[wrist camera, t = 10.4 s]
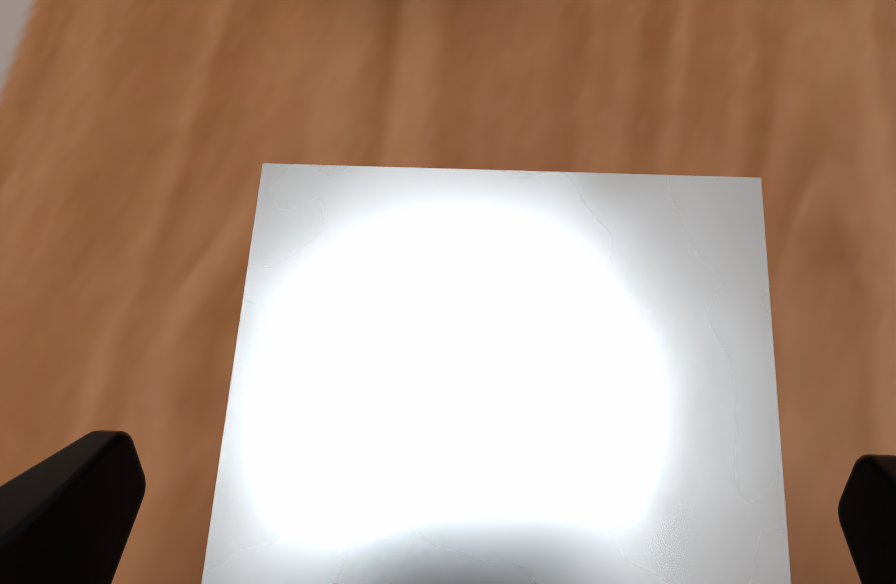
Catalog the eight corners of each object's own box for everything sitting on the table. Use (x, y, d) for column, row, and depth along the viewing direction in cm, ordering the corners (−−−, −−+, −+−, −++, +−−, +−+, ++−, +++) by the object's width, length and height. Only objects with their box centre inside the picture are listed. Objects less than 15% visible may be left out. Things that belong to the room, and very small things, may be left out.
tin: (608, 580, 16) (805, 768, 6) (362, 562, 16) (182, 712, 7) (606, 335, 17) (760, 177, 8) (383, 325, 18) (262, 163, 8)
